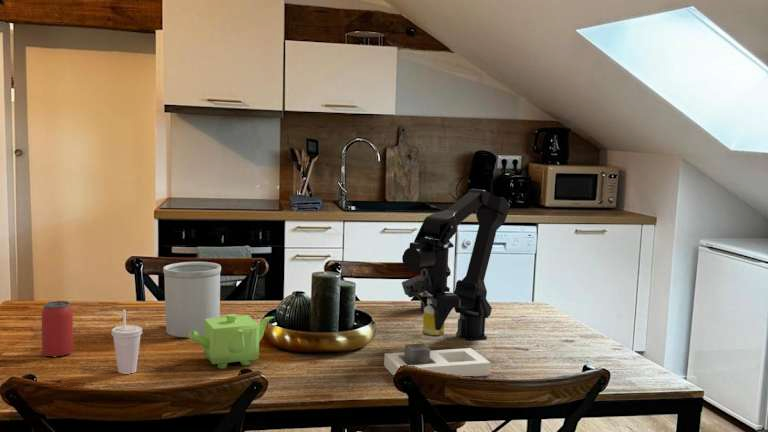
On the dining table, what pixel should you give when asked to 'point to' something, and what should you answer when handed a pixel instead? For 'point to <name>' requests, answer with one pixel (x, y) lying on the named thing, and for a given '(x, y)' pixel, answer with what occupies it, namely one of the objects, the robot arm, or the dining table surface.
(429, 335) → the supplement bottle
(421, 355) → the seated peg
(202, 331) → the utensil holder
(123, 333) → the smoothie
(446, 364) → the white flat block
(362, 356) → the dining table surface
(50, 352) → the beer can
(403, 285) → the robot arm
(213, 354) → the kettle
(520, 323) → the dining table surface
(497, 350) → the dining table surface
